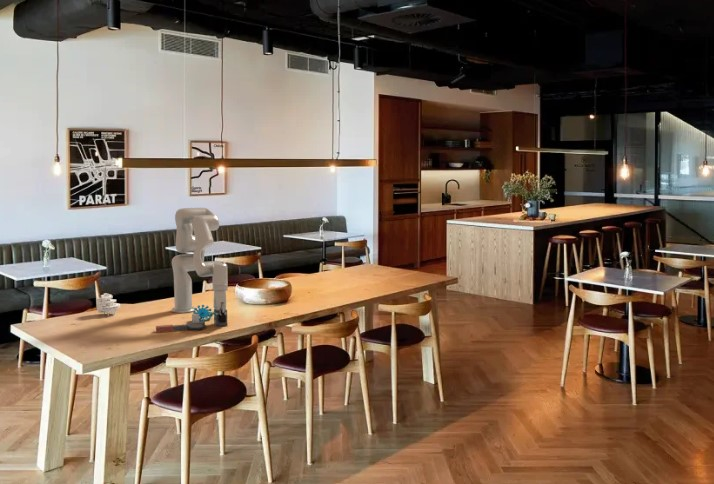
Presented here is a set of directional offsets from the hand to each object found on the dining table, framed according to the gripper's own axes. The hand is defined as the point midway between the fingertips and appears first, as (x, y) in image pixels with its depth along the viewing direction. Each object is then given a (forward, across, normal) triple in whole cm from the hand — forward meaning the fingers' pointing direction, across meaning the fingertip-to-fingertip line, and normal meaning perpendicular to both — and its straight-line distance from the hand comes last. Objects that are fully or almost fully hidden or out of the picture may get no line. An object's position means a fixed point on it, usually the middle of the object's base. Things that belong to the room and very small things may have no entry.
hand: (220, 320), depth 330 cm
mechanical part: (+2, -44, -52) cm, 68 cm away
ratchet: (+2, +3, -20) cm, 21 cm away
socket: (+2, 0, 0) cm, 2 cm away
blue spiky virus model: (+3, -14, -6) cm, 16 cm away
